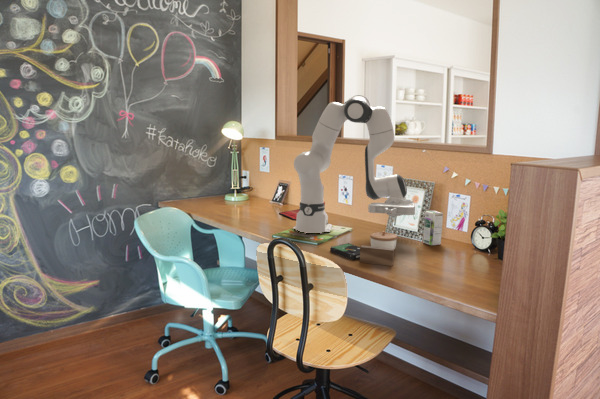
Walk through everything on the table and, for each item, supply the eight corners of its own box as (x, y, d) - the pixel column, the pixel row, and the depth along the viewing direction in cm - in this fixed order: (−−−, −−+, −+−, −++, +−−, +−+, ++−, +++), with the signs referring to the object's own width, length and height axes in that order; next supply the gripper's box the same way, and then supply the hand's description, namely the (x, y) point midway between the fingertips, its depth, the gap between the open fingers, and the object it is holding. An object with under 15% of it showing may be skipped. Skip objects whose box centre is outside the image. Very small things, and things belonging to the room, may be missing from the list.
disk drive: (372, 258, 187) (348, 248, 198) (373, 251, 186) (348, 242, 198) (353, 262, 181) (329, 252, 193) (353, 255, 180) (329, 246, 192)
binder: (302, 208, 276) (319, 215, 258) (302, 212, 276) (319, 219, 258) (277, 211, 269) (294, 218, 250) (277, 215, 269) (294, 222, 251)
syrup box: (422, 242, 209) (424, 210, 207) (433, 241, 211) (435, 210, 209) (430, 245, 204) (432, 213, 201) (441, 244, 206) (443, 212, 204)
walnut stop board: (360, 260, 181) (361, 245, 180) (393, 264, 177) (393, 248, 176) (359, 262, 179) (360, 247, 178) (392, 265, 175) (393, 250, 174)
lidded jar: (401, 254, 190) (402, 232, 188) (382, 258, 184) (383, 235, 182) (383, 248, 198) (384, 227, 197) (364, 252, 192) (365, 230, 191)
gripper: (371, 198, 214) (365, 203, 201) (416, 200, 207) (413, 205, 194) (370, 212, 215) (365, 217, 202) (416, 214, 208) (413, 220, 195)
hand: (389, 211), depth 198 cm, fingers closed
